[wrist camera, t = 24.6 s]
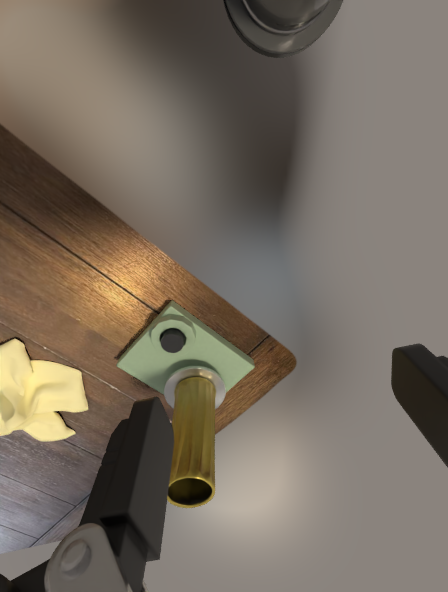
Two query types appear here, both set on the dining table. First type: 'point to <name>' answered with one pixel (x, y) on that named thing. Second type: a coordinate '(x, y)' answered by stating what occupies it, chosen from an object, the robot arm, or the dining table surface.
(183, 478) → the vase
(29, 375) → the cloth
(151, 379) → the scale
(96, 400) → the dining table surface
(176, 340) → the button
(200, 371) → the weighing plate
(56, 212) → the dining table surface
